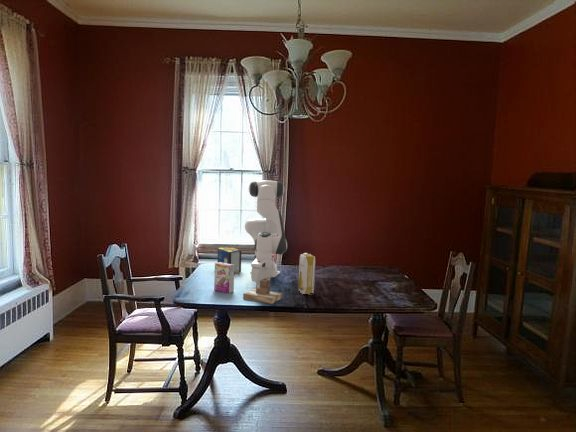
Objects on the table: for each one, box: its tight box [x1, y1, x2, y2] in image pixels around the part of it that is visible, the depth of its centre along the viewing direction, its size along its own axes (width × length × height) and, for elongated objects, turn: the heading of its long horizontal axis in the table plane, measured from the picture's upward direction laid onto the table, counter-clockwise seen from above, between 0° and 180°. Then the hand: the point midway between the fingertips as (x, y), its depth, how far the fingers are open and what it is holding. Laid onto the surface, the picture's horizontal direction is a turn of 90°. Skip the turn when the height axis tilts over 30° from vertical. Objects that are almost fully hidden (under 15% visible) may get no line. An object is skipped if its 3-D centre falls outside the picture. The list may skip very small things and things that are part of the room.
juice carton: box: [297, 252, 316, 295], centre depth 252 cm, size 9×8×24 cm
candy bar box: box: [213, 261, 235, 294], centre depth 249 cm, size 11×5×16 cm, turn 59°
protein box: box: [217, 246, 242, 274], centre depth 300 cm, size 10×15×16 cm
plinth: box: [242, 287, 283, 305], centre depth 239 cm, size 12×18×3 cm, turn 64°
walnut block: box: [255, 278, 271, 295], centre depth 238 cm, size 5×6×8 cm
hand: (262, 286), depth 238 cm, fingers open, 8 cm apart
